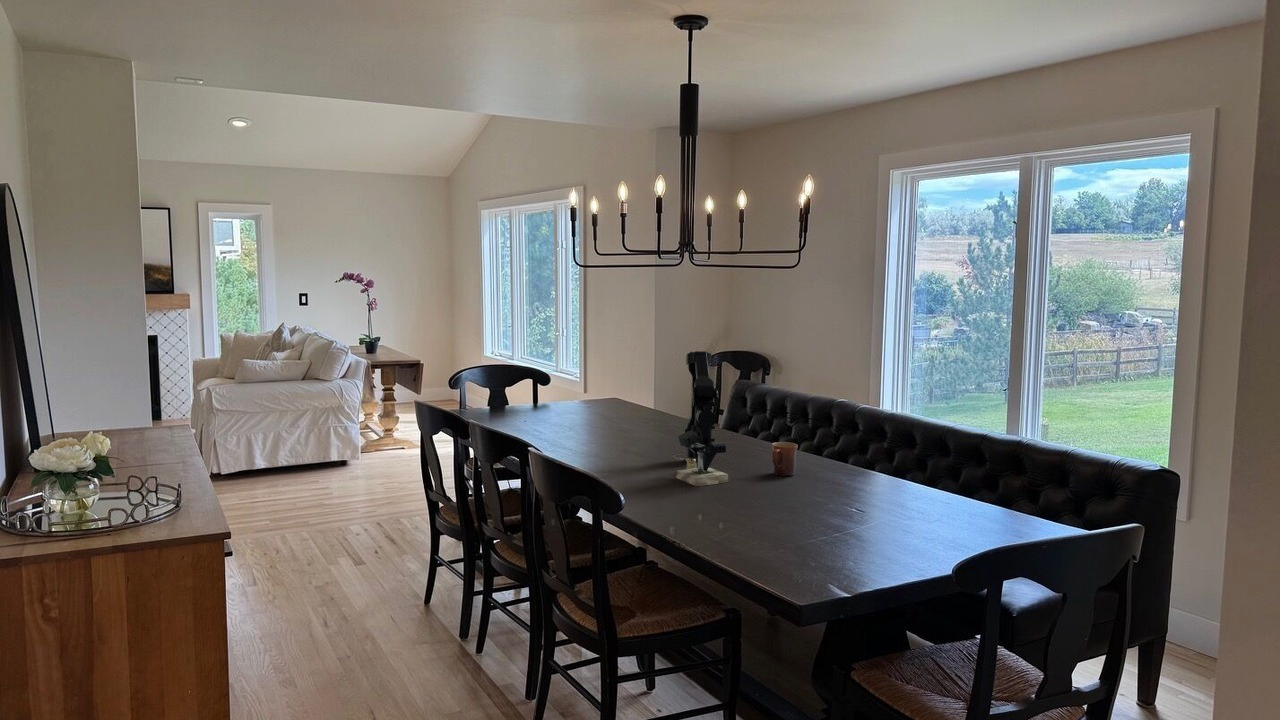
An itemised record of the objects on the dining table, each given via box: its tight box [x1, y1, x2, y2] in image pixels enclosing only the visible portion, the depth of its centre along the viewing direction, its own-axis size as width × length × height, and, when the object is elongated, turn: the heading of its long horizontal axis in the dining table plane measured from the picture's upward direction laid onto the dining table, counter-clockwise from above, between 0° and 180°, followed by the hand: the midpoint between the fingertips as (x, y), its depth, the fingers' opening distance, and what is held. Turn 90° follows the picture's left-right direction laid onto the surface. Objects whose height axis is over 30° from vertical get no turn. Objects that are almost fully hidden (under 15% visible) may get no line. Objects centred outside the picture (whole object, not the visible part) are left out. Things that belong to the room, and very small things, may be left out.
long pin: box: [697, 450, 707, 474], centre depth 284 cm, size 4×4×9 cm
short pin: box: [685, 457, 697, 469], centre depth 296 cm, size 4×4×5 cm
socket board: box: [676, 467, 729, 487], centre depth 285 cm, size 12×12×3 cm
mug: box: [771, 441, 799, 477], centre depth 293 cm, size 12×9×10 cm
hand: (702, 469), depth 285 cm, fingers closed on long pin, 3 cm apart
